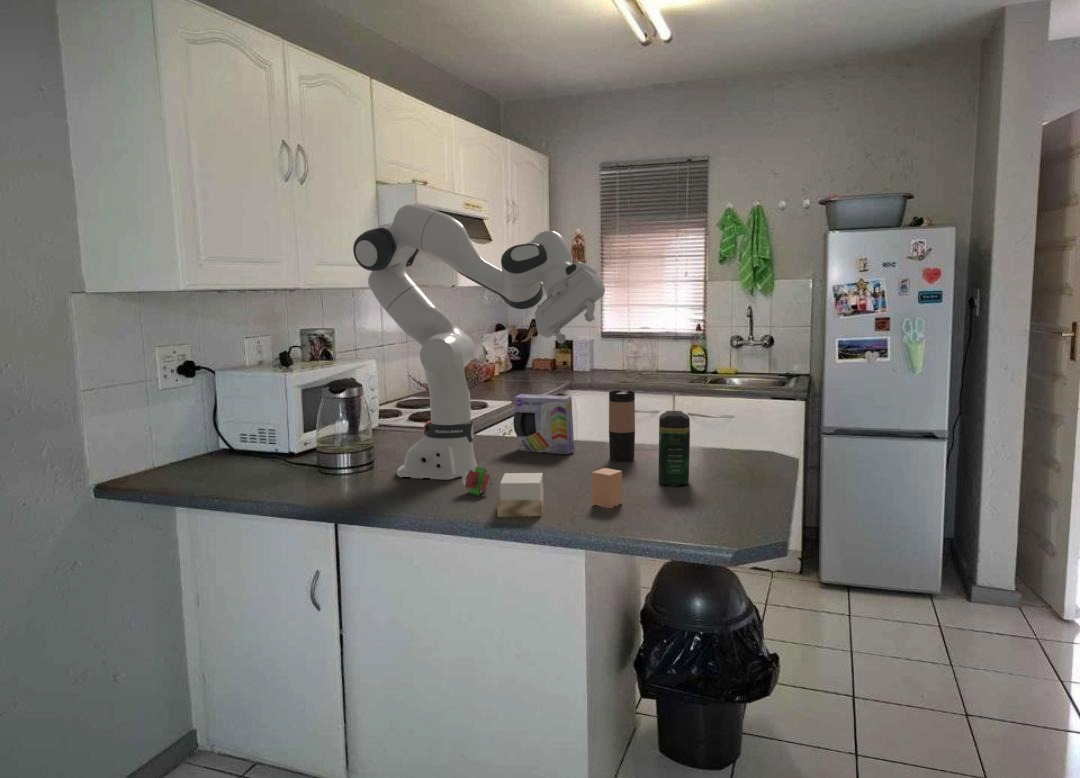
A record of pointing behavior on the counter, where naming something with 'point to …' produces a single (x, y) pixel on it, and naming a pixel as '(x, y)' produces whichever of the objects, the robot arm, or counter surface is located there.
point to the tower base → (520, 507)
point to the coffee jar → (674, 448)
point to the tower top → (521, 486)
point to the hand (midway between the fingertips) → (576, 330)
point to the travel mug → (621, 425)
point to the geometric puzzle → (476, 480)
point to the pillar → (607, 487)
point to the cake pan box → (544, 423)
